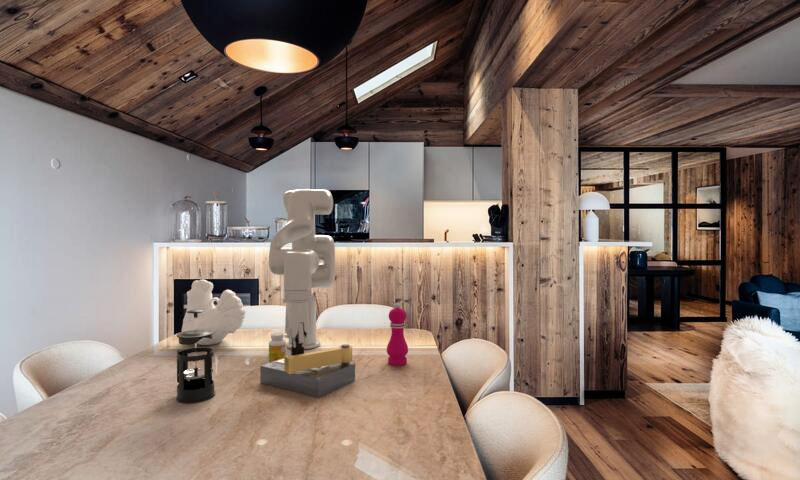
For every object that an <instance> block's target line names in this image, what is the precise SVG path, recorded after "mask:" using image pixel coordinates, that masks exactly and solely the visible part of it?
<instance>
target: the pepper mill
mask: <svg viewBox="0 0 800 480" xmlns="http://www.w3.org/2000/svg"><path fill="white" fill-rule="evenodd" d="M406 319H407V313H406V310H405V309H403V308H401V304H400V303H398V302H397V303H395V305H394V308H392V309H391V310H390V311H389V312H388V320H389V321H390V323H389V324H390V325H389V327H390V329H391V335H390V338H389V340H388V343H387V345H386V353H387V355H388V357H387V364H389V365H390V366H394V367H395V366H399V367H401V366H404V365H406V364H407V361H408V359H407V355H408V353H409V346H408V344H407V341H406V339H405V336H404V328H405V327H406V325H405V324H406V323H405V321H406Z"/></svg>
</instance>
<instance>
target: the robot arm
mask: <svg viewBox="0 0 800 480" xmlns="http://www.w3.org/2000/svg"><path fill="white" fill-rule="evenodd" d="M282 201H283V205H284V208H285V211H286V213H287V219H286V223H285V224H284V225H283V226H281V228H279V230H277V231H276V233H275V234H274V235H273V236H272V238H271V240H270V244H269V253H268V267H269V271H270V272H271V273H272V274H274V275H276V276H277V275H278V276H280V275H281V276H282V275H283V302H284V303H286V304H285V319H284V320H285V323H284V332H285V334H284V338H285V339H288V341H287V342H286V348H288V349H290V351H291V353H290V356H293V355H298V354H304V353H305V350H310V349H311V350H312V349H315V348H318V347H319V346H321V341H320V340H319V339H317V300H316V297H315V294H314V293H313V292H312V289H321V288H324V289H325V288H331V287H333V285H334V284H335V281H336V279H335V278H336V246H335V241H334V238H333V237H332V236H330V235H325V234H316V222H315V215H318V216H319V215H322V216H323V215H324V216H325V215H330V214H332V212H333V209H334V198H333V195H332V193H331V191H330V190H328V189H310V188H306V189H305V188H304V189H303V188H302V189H301V188H299V189H293V190H287V191H285V192H284V194H283V196H282ZM290 243H291V248H283V247H285V246H286V245H288V244H290ZM320 261H322V262H320Z"/></svg>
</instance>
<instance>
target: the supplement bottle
mask: <svg viewBox="0 0 800 480" xmlns="http://www.w3.org/2000/svg"><path fill="white" fill-rule="evenodd" d="M284 338H285V334H284V333H283V332H275V333H271V334H270V339H271V340H270V341H269V343H268V363H270V362H273V361H276V360H279V359H282V358H284V356H287V355H286V354H287V353H286V348H287V342H286V340H285V339H284Z"/></svg>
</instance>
